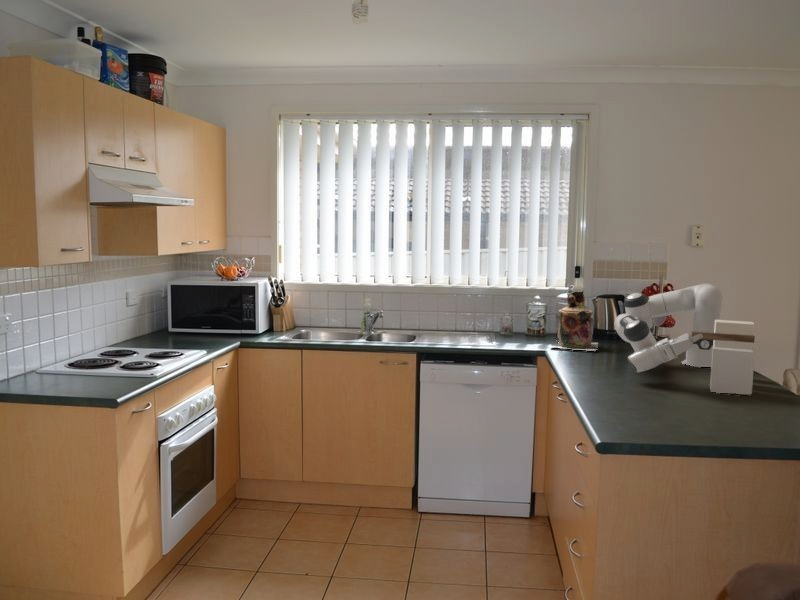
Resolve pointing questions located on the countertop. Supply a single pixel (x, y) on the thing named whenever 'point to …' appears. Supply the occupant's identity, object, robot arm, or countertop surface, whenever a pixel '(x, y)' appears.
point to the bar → (725, 337)
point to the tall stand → (734, 328)
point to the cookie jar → (575, 324)
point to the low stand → (732, 370)
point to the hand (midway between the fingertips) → (702, 334)
